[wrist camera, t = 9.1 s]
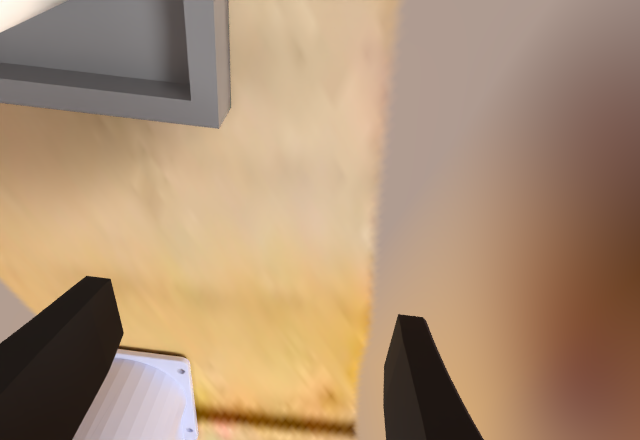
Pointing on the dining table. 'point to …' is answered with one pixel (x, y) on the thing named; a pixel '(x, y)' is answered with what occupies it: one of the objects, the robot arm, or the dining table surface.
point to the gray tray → (123, 60)
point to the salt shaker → (23, 10)
